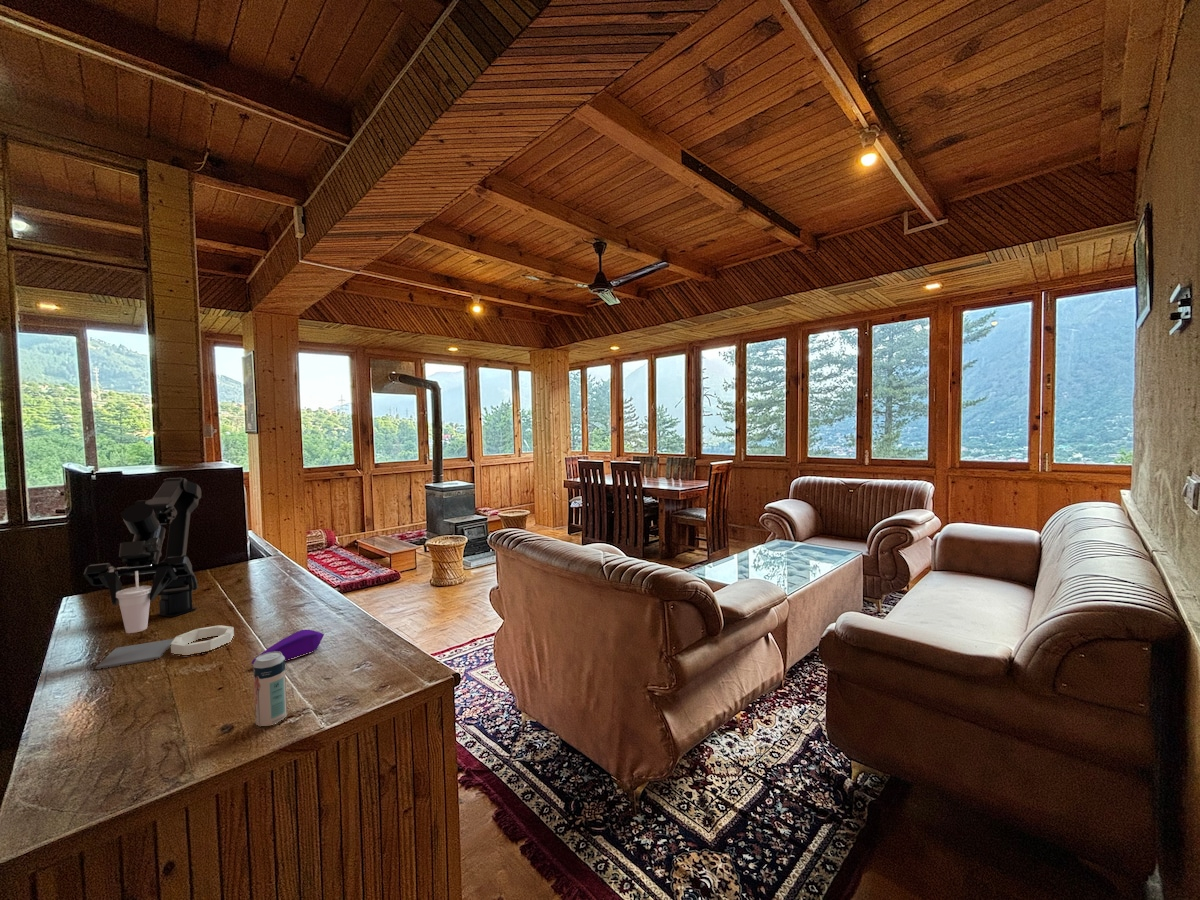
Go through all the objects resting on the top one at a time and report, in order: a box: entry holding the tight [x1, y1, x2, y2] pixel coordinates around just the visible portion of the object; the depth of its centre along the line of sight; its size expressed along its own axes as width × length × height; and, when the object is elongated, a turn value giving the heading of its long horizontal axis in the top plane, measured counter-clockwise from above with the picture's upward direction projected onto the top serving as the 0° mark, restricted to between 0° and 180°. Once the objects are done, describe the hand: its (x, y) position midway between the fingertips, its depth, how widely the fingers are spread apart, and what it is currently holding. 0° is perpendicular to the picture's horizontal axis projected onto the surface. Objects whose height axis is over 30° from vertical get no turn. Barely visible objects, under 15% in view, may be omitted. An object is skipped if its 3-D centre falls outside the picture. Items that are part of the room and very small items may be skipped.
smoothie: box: [116, 571, 153, 634], centre depth 116 cm, size 6×6×14 cm
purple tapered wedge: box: [251, 629, 325, 665], centre depth 114 cm, size 5×5×15 cm
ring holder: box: [170, 624, 235, 655], centre depth 121 cm, size 12×12×2 cm
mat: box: [94, 638, 175, 670], centre depth 117 cm, size 11×11×1 cm
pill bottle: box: [252, 651, 288, 727], centre depth 89 cm, size 5×5×12 cm
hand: (132, 602), depth 115 cm, fingers closed on smoothie, 6 cm apart
